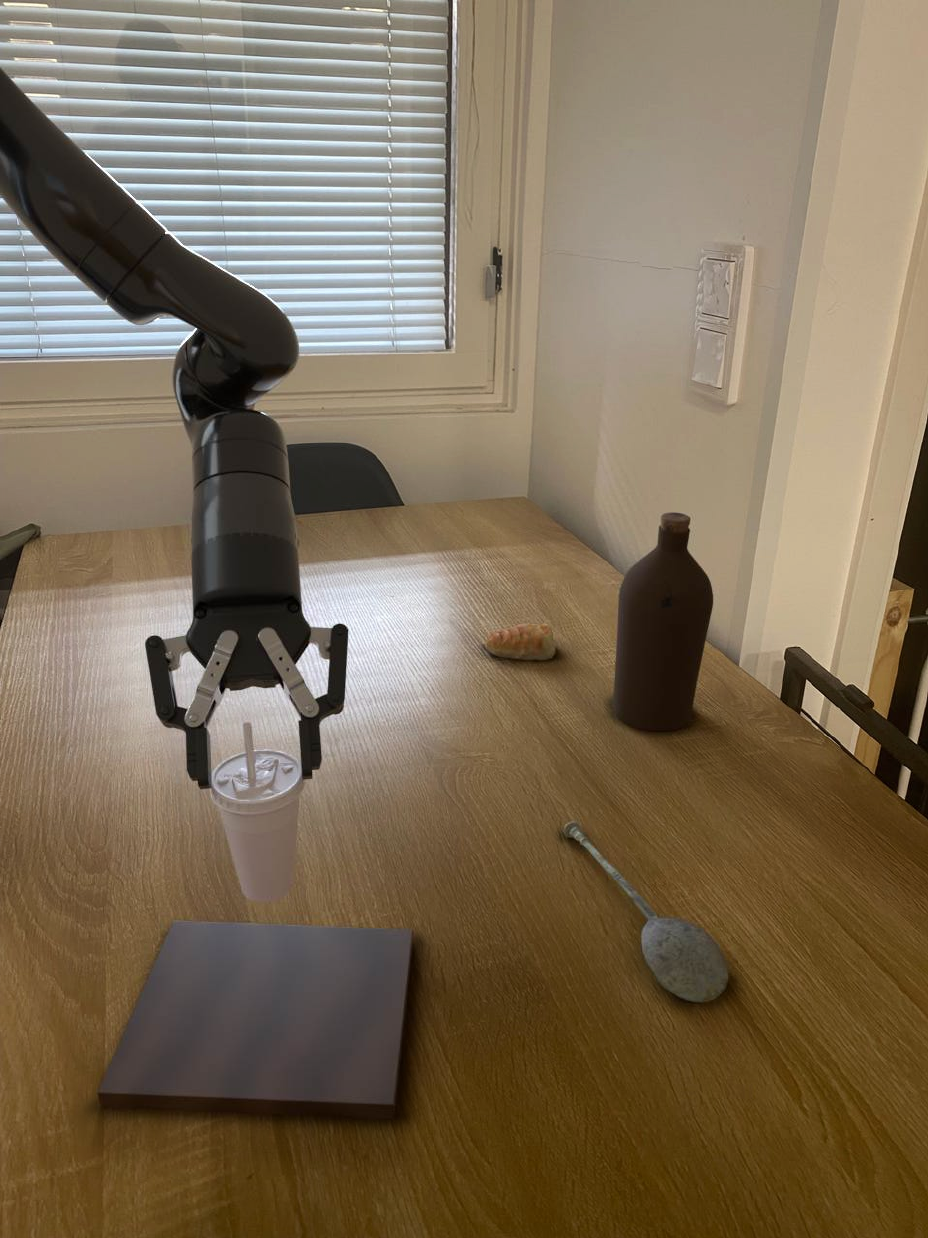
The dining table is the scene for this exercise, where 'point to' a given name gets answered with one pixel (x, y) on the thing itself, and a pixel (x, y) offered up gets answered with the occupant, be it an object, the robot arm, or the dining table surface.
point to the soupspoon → (671, 943)
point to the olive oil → (661, 632)
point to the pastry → (523, 642)
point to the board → (267, 1022)
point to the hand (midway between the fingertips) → (257, 781)
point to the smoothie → (260, 817)
